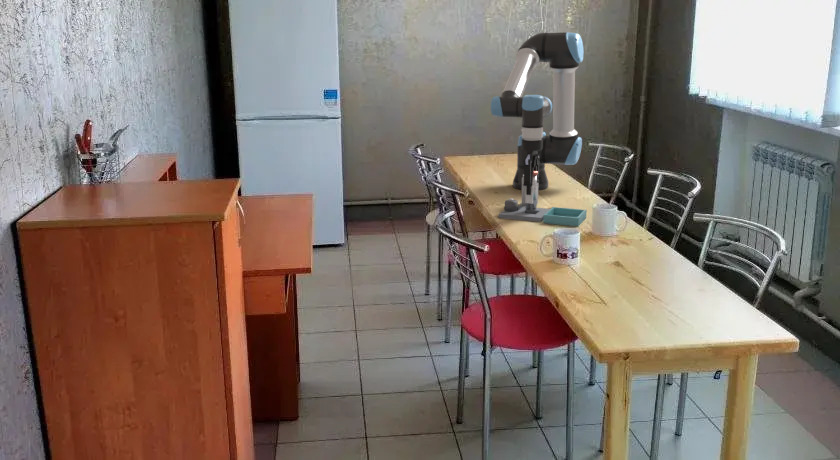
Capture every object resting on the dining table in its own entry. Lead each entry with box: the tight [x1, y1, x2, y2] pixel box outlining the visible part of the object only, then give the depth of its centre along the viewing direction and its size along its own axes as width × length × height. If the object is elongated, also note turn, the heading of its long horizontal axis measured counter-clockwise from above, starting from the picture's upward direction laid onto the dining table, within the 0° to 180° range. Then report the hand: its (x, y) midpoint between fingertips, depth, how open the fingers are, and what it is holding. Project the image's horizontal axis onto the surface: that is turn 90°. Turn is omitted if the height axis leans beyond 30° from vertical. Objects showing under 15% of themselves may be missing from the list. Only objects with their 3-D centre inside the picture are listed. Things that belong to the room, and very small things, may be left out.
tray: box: [542, 206, 588, 227], centre depth 284 cm, size 13×13×3 cm
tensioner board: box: [498, 198, 551, 223], centre depth 292 cm, size 14×16×6 cm
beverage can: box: [520, 175, 539, 207], centre depth 306 cm, size 6×6×12 cm
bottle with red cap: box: [524, 170, 538, 210], centre depth 289 cm, size 5×5×14 cm
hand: (530, 201), depth 291 cm, fingers closed on bottle with red cap, 4 cm apart
